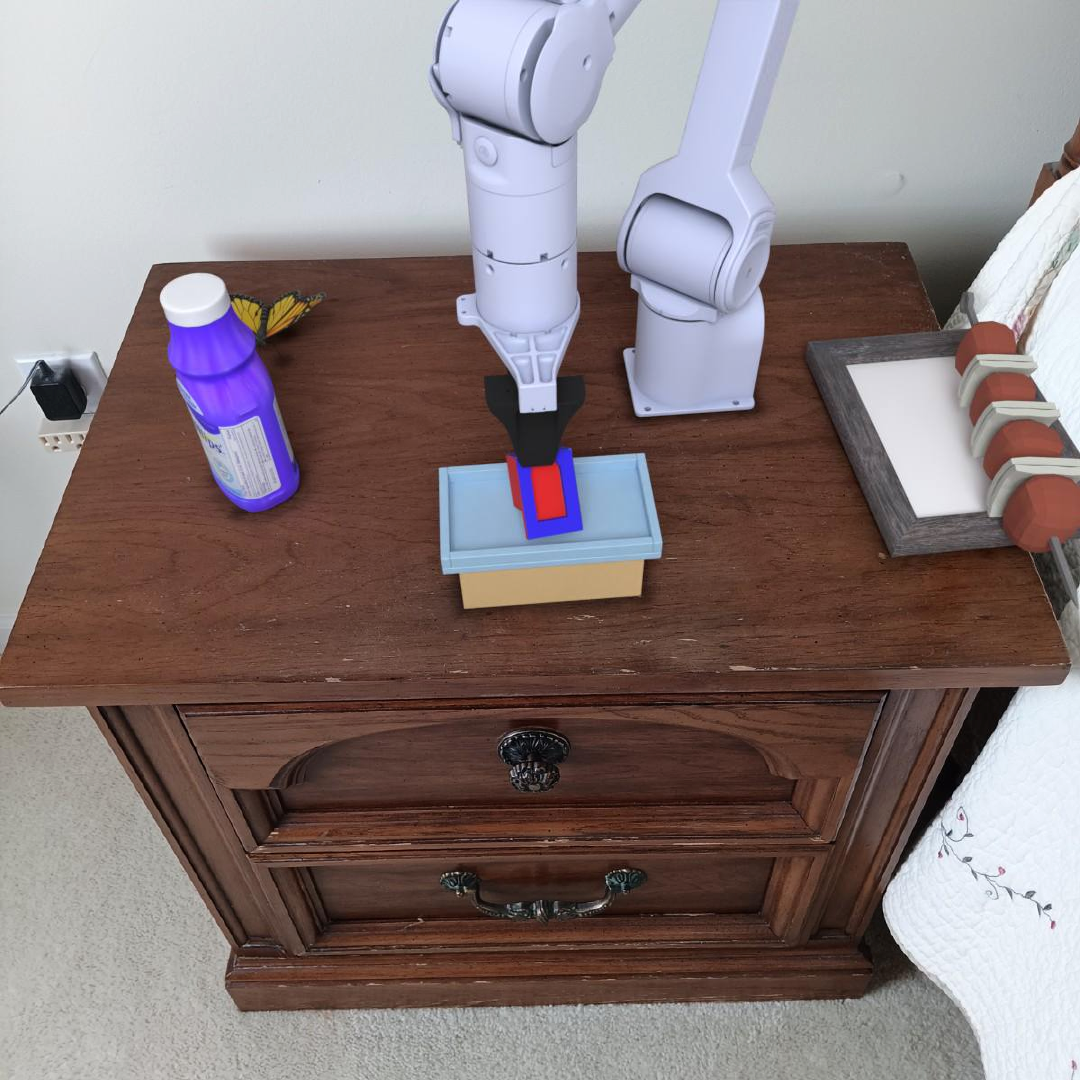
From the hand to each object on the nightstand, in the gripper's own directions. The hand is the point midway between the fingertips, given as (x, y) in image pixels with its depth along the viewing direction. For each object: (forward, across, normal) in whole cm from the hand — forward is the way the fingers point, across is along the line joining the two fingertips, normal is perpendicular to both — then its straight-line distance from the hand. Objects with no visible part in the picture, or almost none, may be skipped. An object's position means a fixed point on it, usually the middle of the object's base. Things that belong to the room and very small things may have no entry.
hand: (531, 418), depth 64 cm
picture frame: (+9, -15, +31) cm, 36 cm away
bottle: (+10, -6, -20) cm, 24 cm away
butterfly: (+11, -22, -21) cm, 32 cm away
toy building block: (+5, +4, 0) cm, 6 cm away
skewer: (+5, -16, +36) cm, 39 cm away
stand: (+10, +4, +1) cm, 11 cm away
